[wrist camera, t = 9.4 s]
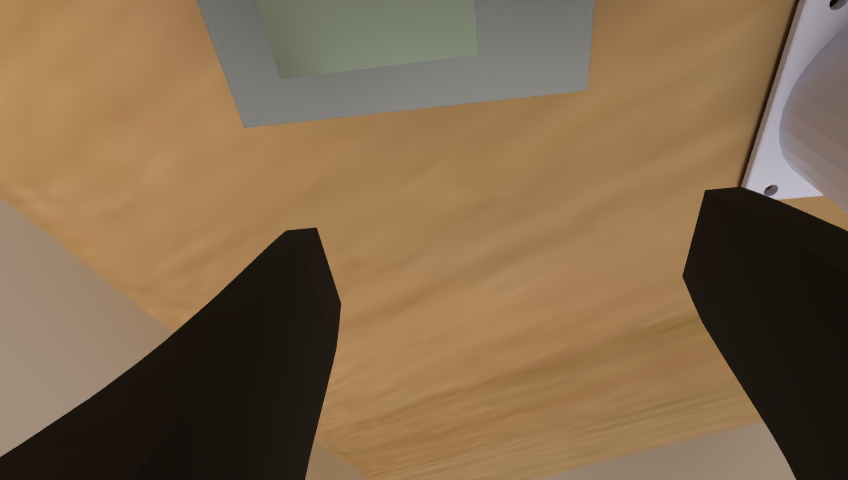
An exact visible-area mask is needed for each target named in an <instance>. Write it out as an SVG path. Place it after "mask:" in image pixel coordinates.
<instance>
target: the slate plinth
mask: <svg viewBox="0 0 848 480" xmlns="http://www.w3.org/2000/svg"><path fill="white" fill-rule="evenodd" d="M197 2H198V5H199V7H200V10H201V13H202V15H203V18H204V21H205V23H206V26H207V29H208V32H209V34H210V37H211V40H212V42H213V45H214V48H215V50H216V53H217V56H218V58H219V61H220V64H221V66H222V69H223V72H224V74H225V77H226V80H227V82H228V85H229V88H230V90H231V93H232V96H233V98H234V101H235V104H236V107H237V109H238V112H239V115H240V117H241V120H242V123H243V125H244V128H247V127H257V126H266V125H275V124H284V123H293V122H303V121H312V120H321V119H330V118H339V117H349V116H358V115H367V114H376V113H385V112H395V111H404V110H413V109H422V108H431V107H441V106H450V105H459V104H468V103H477V102H487V101H496V100H505V99H514V98H523V97H533V96H542V95H551V94H560V93H569V92H579V91H588V79H589V66H590V54H591V41H592V29H593V16H594V4H595V0H475V16H476V32H477V48H478V55H471V56H463V57H455V58H447V59H439V60H431V61H423V62H415V63H407V64H399V65H391V66H383V67H375V68H367V69H360V70H352V71H344V72H336V73H328V74H320V75H312V76H304V77H296V78H288V79H280V76H279V73H278V69H277V66H276V63H275V60H274V57H273V53H272V50H271V47H270V44H269V40H268V37H267V34H266V31H265V28H264V24H263V21H262V18H261V15H260V12H259V8H258V5H257V2H256V0H197Z"/></svg>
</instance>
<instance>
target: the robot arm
mask: <svg viewBox="0 0 848 480" xmlns="http://www.w3.org/2000/svg"><path fill="white" fill-rule="evenodd" d="M830 1H831V0H800V1H799V3H798V6H797V10H796V13H795V16H794V19H793V22H792V26H791V29H790V32H789V35H788V38H787V42H786V45H785V48H784V51H783V54H782V58H781V61H780V64H779V67H778V70H777V74H776V77H775V80H774V83H773V86H772V89H771V93H770V96H769V99H768V102H767V105H766V109H765V112H764V115H763V118H762V121H761V125H760V128H759V131H758V134H757V137H756V141H755V144H754V147H753V150H752V153H751V157H750V160H749V163H748V166H747V169H746V173H745V176H744V179H743V182H742V185H741V187H733V188H723V189H713V190H705V193H704V197H703V201H702V204H701V208H700V212H699V216H698V219H697V223H696V227H695V231H694V235H693V238H692V242H691V246H690V250H689V254H688V257H687V261H686V265H685V269H684V272H683V279H684V281H685V284H686V286H687V288H688V291H689V293H690V296H691V298H692V301H693V303H694V305H695V307H696V309H697V312H698V314H699V316H700V318H701V320H702V323H703V324H704V326H705V328H706V329H707V331H708V333H709V334H710V336H711V338H712V339H713V341H714V342H715V344H716V346H717V347H718V349H719V351H720V352H721V354H722V355H723V357H724V359H725V360H726V362H727V364H728V365H729V367H730V368H731V370H732V371H733V373H734V375H735V376H736V378H737V379H738V381H739V383H740V384H741V386H742V387H743V389H744V391H745V392H746V394H747V395H748V397H749V398H750V400H751V402H752V403H753V405H754V406H755V408H756V410H757V411H758V413H759V414H760V416H761V418H762V419H763V421H764V422H765V424H766V425H767V427H768V429H769V430H770V432H771V434H772V435H773V437H774V439H775V441H776V442H777V444H778V446H779V448H780V449H781V451H782V453H783V455H784V456H785V458H786V460H787V462H788V464H789V466H790V468H791V470H792V472H793V474H794V476H795V478H796V480H848V231H846V230H844V229H842V228H839V227H837V226H835V225H833V224H830V223H828V222H826V221H824V220H821V219H819V218H817V217H814V216H812V215H810V214H808V213H805V212H803V211H801V210H799V209H796V208H794V207H792V206H789V205H787V204H785V203H782V202H780V201H778V199H790V198H802V197H815V196H826V197H827V198H828V199H829V200H831V201H832V202H833V203H834V204H836V205H837V206H838V207H839V208H841V209H842V210H843V211H844V212H846V213H847V214H848V0H838V1H837V3H836V4H834V5H833V6H832V7H829V5H830ZM771 185H772V187H771V188H770V189H769V190H767V191H764V190H765V189H766V188H767V187H768V186H771ZM340 310H341V302H340V299H339V296H338V293H337V290H336V286H335V283H334V280H333V277H332V274H331V271H330V268H329V265H328V262H327V258H326V255H325V252H324V249H323V246H322V243H321V240H320V237H319V234H318V230H317V228H308V229H297V230H287V231H285V232H284V233H283V234H282V235H280V236H279V237H278V238H277V239H276V240H275V241H274V242H273V243H271V244H270V245H269V246H268V247H267V248H266V249H265V250H264V251H263V252H262V253H261V254H260V255H259V256H258V257H257V258H256V259H255V260H254V261H253V262H252V263H250V264H249V265H248V266H247V267H246V268H245V269H244V270H243V271H242V272H241V273H240V274H239V275H238V276H237V277H236V278H235V279H234V280H233V281H232V282H230V283H229V284H228V285H227V286H226V287H225V288H224V289H223V290H222V291H221V292H220V293H219V294H218V295H217V296H216V297H215V298H213V299H212V300H211V301H210V302H209V303H208V304H207V305H206V306H204V307H203V308H202V309H201V310H200V311H199V312H198V313H196V314H195V315H194V316H193V317H192V318H191V319H190V320H188V321H187V322H186V323H185V324H184V325H183V326H181V327H180V328H179V329H178V330H177V331H176V332H175V333H173V334H172V335H171V336H170V337H169V338H168V339H167V340H166V341H164V342H163V343H162V344H161V345H159V346H158V347H157V348H156V349H154V350H153V351H152V352H151V353H149V354H148V355H147V356H146V357H144V358H143V359H142V360H141V361H139V362H138V363H137V364H135V365H134V366H133V367H132V368H130V369H129V370H127V371H126V372H125V373H123V374H122V375H121V376H119V377H118V378H117V379H115V380H114V381H113V382H111V383H110V384H109V385H107V386H106V387H105V388H103V389H102V390H101V391H99V392H98V393H96V394H95V395H93V396H92V397H91V398H89V399H88V400H86V401H85V402H83V403H82V404H80V405H79V406H77V407H76V408H74V409H73V410H71V411H70V412H68V413H67V414H65V415H64V416H62V417H61V418H59V419H58V420H56V421H55V422H53V423H52V424H50V425H49V426H47V427H46V428H44V429H43V430H42V431H40V432H38V433H37V434H35V435H34V436H33V437H31V438H29V439H28V440H26V441H25V442H23V443H22V444H20V445H19V446H17V447H16V448H14V449H12V450H11V451H9V452H8V453H6V454H4V455H3V456H1V457H0V480H305V477H306V472H307V467H308V463H309V457H310V453H311V449H312V445H313V441H314V437H315V433H316V429H317V425H318V421H319V417H320V413H321V409H322V405H323V402H324V398H325V394H326V390H327V386H328V381H329V377H330V373H331V369H332V365H333V361H334V356H335V352H336V347H337V339H338V330H339V321H340Z"/></svg>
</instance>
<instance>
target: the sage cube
mask: <svg viewBox="0 0 848 480" xmlns="http://www.w3.org/2000/svg"><path fill="white" fill-rule="evenodd" d="M256 2H257V5H258V8H259V12H260V15H261V18H262V21H263V24H264V28H265V31H266V34H267V37H268V40H269V44H270V47H271V50H272V53H273V57H274V60H275V63H276V66H277V69H278V73H279V76H280V79H288V78H296V77H304V76H312V75H320V74H328V73H336V72H344V71H352V70H360V69H367V68H375V67H383V66H391V65H399V64H407V63H415V62H423V61H431V60H439V59H447V58H455V57H463V56H471V55H478V48H477V32H476V16H475V0H256Z"/></svg>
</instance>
